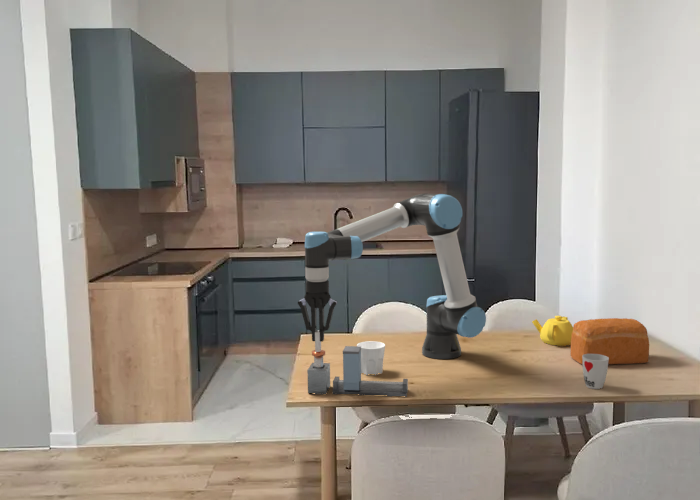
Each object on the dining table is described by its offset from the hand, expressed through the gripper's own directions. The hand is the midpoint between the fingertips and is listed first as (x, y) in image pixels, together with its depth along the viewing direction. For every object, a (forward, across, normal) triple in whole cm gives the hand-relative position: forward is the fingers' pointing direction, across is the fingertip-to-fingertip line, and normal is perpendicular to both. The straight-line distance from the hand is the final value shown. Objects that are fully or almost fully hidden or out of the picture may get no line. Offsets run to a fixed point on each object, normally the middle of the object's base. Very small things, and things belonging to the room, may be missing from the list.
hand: (318, 350), depth 211 cm
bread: (+13, -102, -44) cm, 112 cm away
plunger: (+9, 0, 0) cm, 9 cm away
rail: (+13, -17, 0) cm, 22 cm away
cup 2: (+13, -90, -13) cm, 92 cm away
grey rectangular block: (+12, -11, 0) cm, 16 cm away
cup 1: (+14, -15, -21) cm, 29 cm away
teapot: (+13, -86, -69) cm, 111 cm away
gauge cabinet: (+13, 0, 0) cm, 13 cm away
